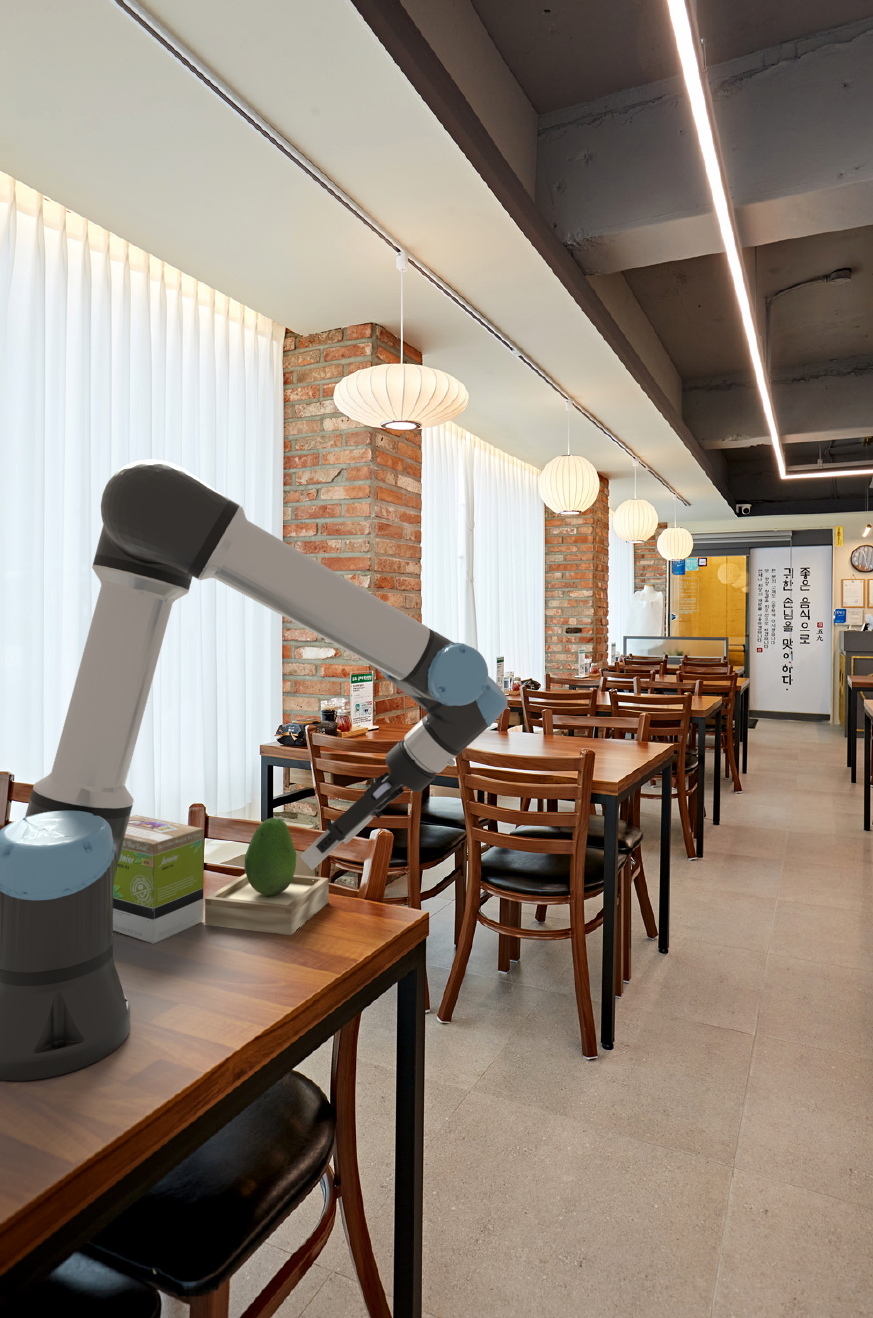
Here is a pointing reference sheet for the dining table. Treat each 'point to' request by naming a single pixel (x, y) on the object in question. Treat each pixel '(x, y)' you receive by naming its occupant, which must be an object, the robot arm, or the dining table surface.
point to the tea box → (158, 879)
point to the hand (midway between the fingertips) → (324, 849)
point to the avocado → (270, 858)
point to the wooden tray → (266, 905)
